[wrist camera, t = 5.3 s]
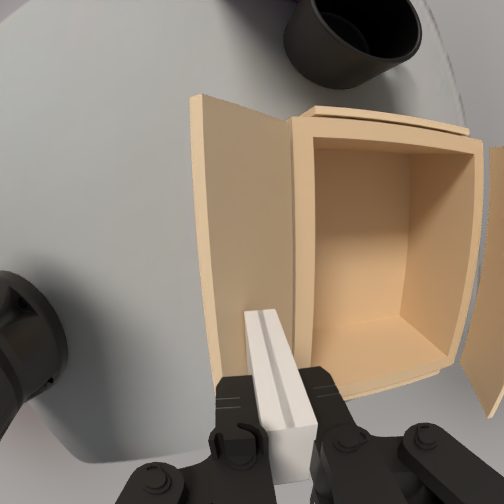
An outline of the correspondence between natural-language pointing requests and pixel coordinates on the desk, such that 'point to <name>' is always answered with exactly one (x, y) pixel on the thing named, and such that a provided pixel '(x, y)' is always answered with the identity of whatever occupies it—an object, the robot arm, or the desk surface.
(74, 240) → the desk surface
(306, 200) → the carton
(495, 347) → the flap
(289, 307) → the flap
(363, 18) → the mug
